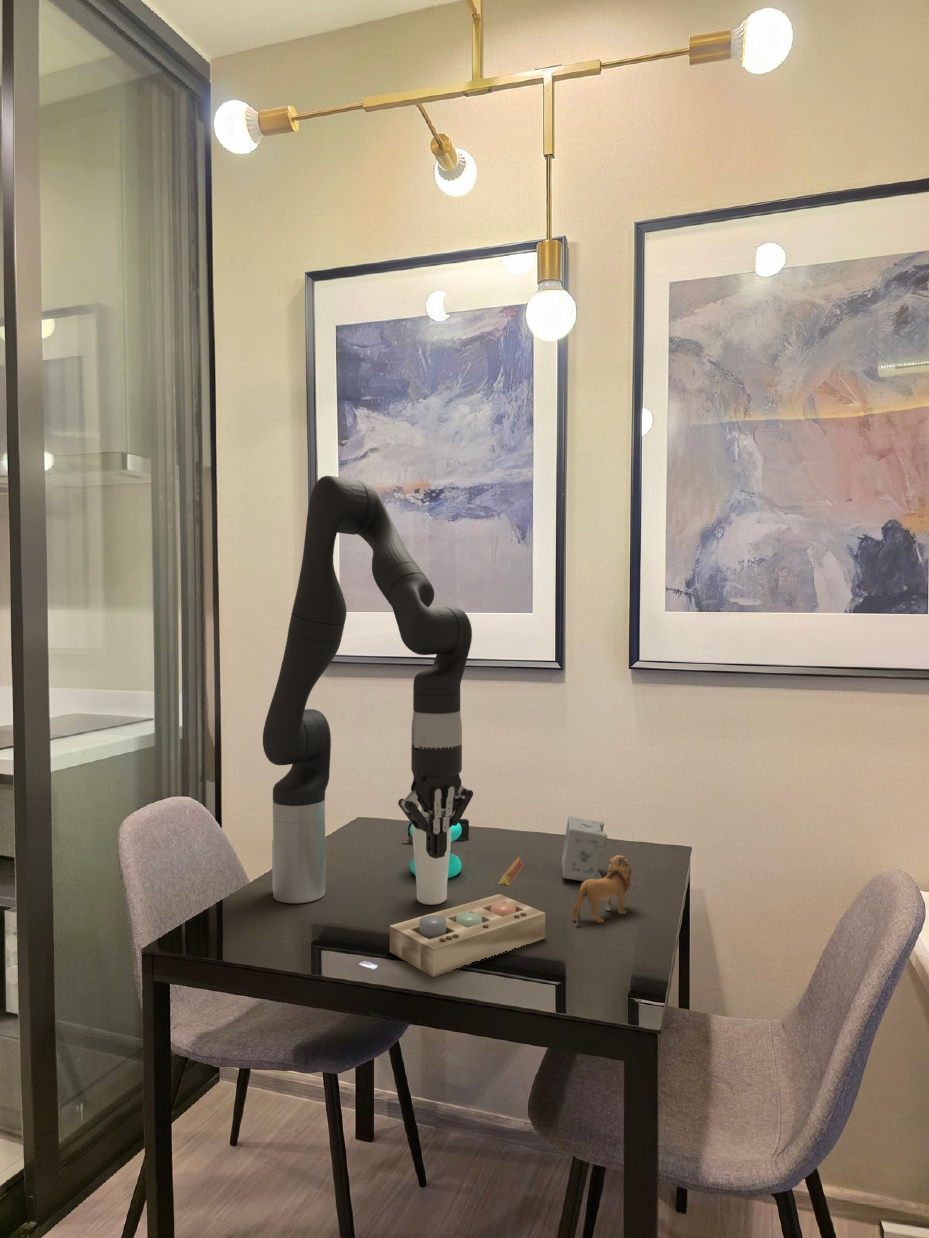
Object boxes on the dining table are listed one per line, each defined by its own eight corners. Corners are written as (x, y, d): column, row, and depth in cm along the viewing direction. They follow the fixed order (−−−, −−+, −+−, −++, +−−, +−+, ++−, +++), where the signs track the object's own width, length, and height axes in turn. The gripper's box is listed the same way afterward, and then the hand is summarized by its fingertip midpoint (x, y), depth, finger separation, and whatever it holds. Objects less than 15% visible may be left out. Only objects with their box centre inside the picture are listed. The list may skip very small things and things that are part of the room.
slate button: (414, 939, 127) (414, 919, 127) (435, 932, 130) (435, 913, 130) (430, 947, 124) (430, 927, 124) (451, 940, 127) (451, 921, 127)
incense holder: (607, 885, 159) (607, 830, 159) (562, 884, 160) (562, 829, 159) (603, 868, 169) (603, 816, 168) (561, 867, 169) (561, 815, 169)
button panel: (389, 951, 129) (389, 924, 129) (499, 917, 143) (499, 892, 143) (433, 977, 120) (433, 947, 120) (545, 938, 134) (545, 911, 134)
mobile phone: (467, 816, 191) (401, 819, 187) (470, 819, 188) (403, 822, 184) (466, 838, 191) (400, 841, 187) (470, 842, 188) (403, 845, 184)
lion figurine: (612, 900, 151) (612, 850, 151) (638, 907, 148) (639, 856, 147) (564, 923, 140) (564, 869, 140) (591, 932, 137) (591, 876, 136)
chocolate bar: (496, 885, 160) (496, 874, 160) (512, 866, 171) (512, 855, 171) (510, 887, 159) (510, 875, 159) (524, 867, 170) (524, 856, 170)
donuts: (406, 828, 161) (414, 814, 171) (406, 880, 161) (414, 864, 171) (458, 829, 160) (464, 816, 170) (458, 882, 160) (463, 865, 170)
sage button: (450, 935, 132) (450, 916, 132) (470, 929, 134) (470, 910, 134) (467, 943, 129) (467, 924, 129) (487, 937, 131) (487, 917, 131)
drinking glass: (417, 909, 147) (417, 822, 146) (409, 895, 153) (409, 812, 153) (455, 905, 148) (455, 819, 148) (445, 892, 155) (445, 810, 154)
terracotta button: (485, 924, 136) (485, 905, 136) (504, 918, 139) (504, 900, 139) (502, 932, 133) (502, 913, 133) (520, 926, 136) (520, 907, 136)
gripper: (455, 733, 134) (454, 842, 134) (385, 742, 125) (385, 859, 126) (486, 739, 128) (486, 854, 129) (416, 749, 120) (415, 872, 120)
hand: (436, 856), depth 127 cm, fingers closed
